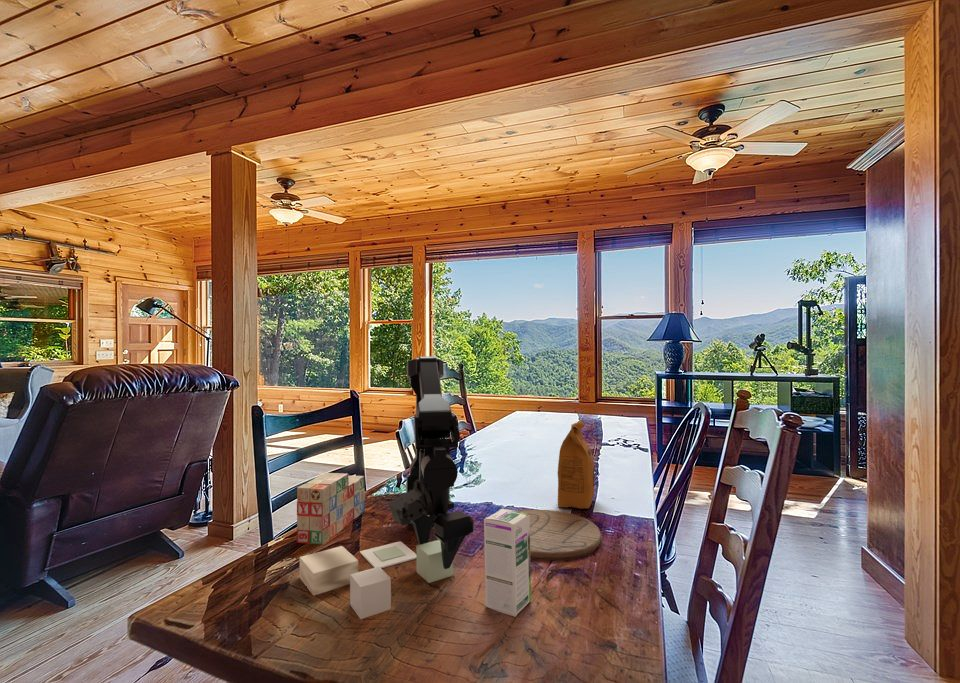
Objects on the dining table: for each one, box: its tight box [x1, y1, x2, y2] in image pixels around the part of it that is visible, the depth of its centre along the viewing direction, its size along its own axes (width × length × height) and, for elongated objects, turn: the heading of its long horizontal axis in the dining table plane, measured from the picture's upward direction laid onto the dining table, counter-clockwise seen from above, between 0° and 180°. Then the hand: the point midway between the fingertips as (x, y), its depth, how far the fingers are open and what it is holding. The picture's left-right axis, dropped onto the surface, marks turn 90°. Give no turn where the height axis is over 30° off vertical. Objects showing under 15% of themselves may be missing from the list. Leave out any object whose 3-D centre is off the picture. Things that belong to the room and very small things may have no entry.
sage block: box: [415, 539, 454, 584], centre depth 86 cm, size 5×5×5 cm
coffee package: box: [557, 420, 596, 510], centre depth 125 cm, size 10×12×22 cm
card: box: [359, 540, 416, 569], centre depth 93 cm, size 9×9×1 cm
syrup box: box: [483, 508, 532, 618], centre depth 75 cm, size 6×6×14 cm
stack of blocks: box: [296, 472, 366, 546], centre depth 110 cm, size 21×6×12 cm, turn 170°
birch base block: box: [299, 545, 359, 596], centre depth 84 cm, size 8×8×4 cm
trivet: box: [519, 508, 602, 561], centre depth 104 cm, size 25×25×2 cm
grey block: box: [349, 567, 392, 620], centre depth 75 cm, size 5×5×5 cm
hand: (434, 558), depth 86 cm, fingers open, 9 cm apart
